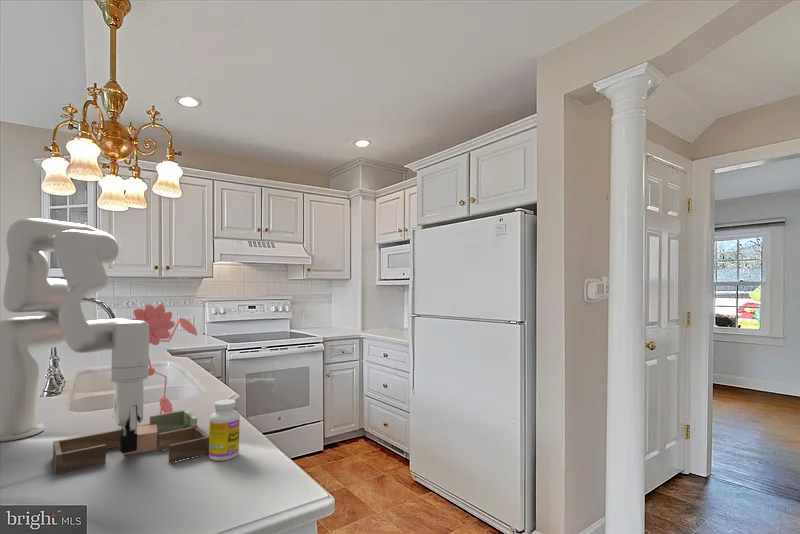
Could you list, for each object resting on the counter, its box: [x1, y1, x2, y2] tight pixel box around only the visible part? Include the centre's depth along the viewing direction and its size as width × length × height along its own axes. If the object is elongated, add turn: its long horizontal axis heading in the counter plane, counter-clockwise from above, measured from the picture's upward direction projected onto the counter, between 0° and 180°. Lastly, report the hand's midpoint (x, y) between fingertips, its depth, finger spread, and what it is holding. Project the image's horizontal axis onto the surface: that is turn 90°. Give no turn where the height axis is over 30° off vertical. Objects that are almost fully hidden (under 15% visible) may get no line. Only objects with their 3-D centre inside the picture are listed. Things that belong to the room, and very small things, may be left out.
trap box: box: [52, 409, 210, 475], centre depth 104 cm, size 21×29×6 cm
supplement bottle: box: [208, 398, 241, 462], centre depth 104 cm, size 7×7×13 cm
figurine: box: [130, 303, 198, 414], centre depth 129 cm, size 15×26×35 cm, turn 133°
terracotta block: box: [122, 424, 158, 456], centre depth 110 cm, size 7×7×4 cm
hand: (128, 450), depth 103 cm, fingers closed
